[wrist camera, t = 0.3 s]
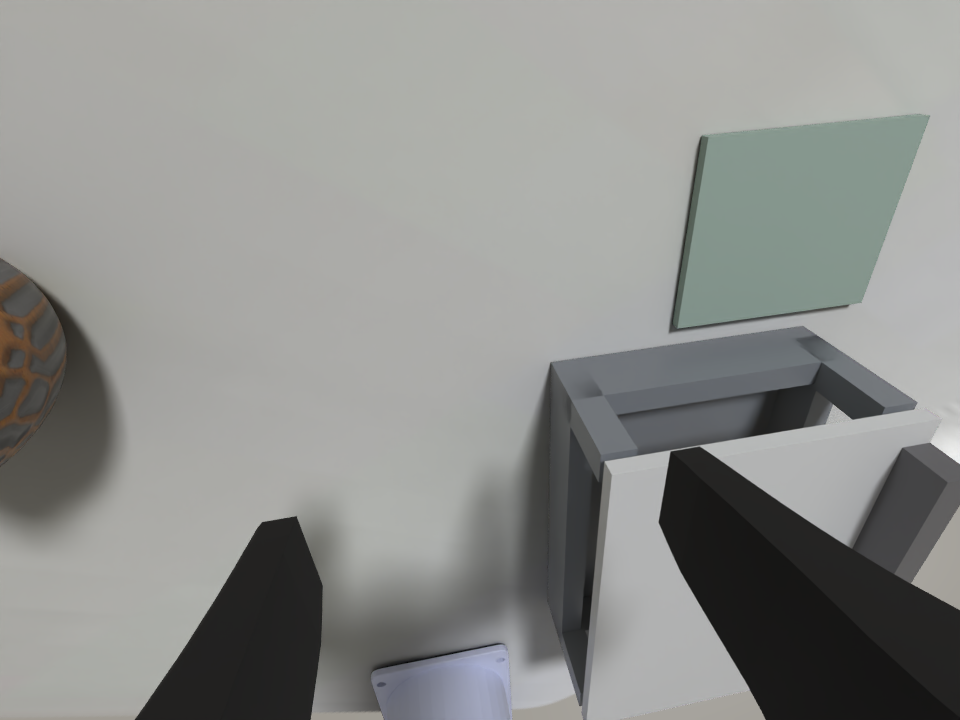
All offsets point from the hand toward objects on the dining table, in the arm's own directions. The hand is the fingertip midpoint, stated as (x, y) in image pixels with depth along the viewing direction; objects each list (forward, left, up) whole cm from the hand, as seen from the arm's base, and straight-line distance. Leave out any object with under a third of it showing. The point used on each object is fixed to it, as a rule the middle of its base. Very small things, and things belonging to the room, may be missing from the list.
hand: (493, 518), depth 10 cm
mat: (+1, -13, -10) cm, 17 cm away
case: (-11, -10, -10) cm, 18 cm away
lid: (-11, -10, -4) cm, 15 cm away
